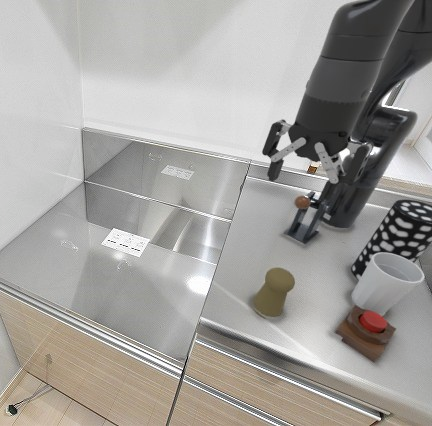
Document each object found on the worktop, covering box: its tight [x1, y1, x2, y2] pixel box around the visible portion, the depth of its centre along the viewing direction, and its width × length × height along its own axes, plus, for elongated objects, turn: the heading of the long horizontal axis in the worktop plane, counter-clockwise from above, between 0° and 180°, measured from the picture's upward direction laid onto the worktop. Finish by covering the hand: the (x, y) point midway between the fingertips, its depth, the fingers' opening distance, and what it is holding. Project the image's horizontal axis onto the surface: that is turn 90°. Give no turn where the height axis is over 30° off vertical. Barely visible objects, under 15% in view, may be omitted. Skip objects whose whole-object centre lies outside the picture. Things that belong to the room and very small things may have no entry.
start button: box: [359, 311, 388, 333], centre depth 56 cm, size 4×4×2 cm
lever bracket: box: [283, 190, 332, 245], centre depth 79 cm, size 8×6×13 cm
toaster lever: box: [293, 195, 322, 210], centre depth 72 cm, size 15×3×3 cm, turn 127°
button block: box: [334, 304, 397, 363], centre depth 57 cm, size 9×7×4 cm
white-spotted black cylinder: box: [350, 199, 432, 281], centre depth 64 cm, size 8×8×20 cm
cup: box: [351, 252, 425, 317], centre depth 60 cm, size 8×8×12 cm
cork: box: [252, 267, 296, 320], centre depth 61 cm, size 6×6×11 cm
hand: (296, 188), depth 51 cm, fingers open, 8 cm apart
